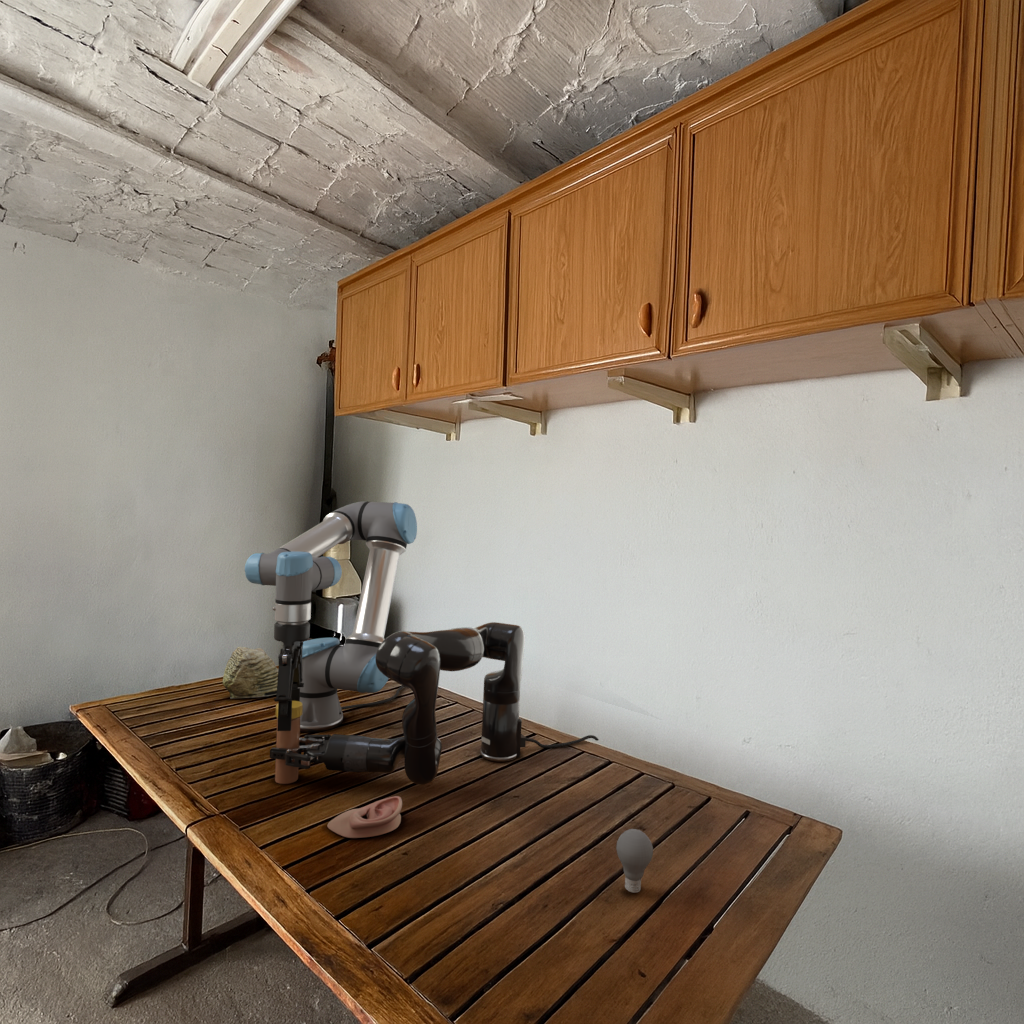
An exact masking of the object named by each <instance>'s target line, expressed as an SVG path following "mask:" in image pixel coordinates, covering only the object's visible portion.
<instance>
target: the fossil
mask: <svg viewBox="0 0 1024 1024" xmlns="http://www.w3.org/2000/svg"><path fill="white" fill-rule="evenodd" d="M278 668H279V667H277V665H276V663H275V662H274V660H273V659H272V658H271V657H270V656H269V655H268V654H267V653H266V652H265V650H264V649H263V648H260V647H258V648H251V647H247V646H246V647H245V646H238V647H237V648H236V649H235V650H233V651H232V653H231V656H230V657H229V659H228V660H227V663H226V666H225V668H224V671H223V675H222V676H223V677H222V685H223V687H224V688H225V690H226V691H228V693H229V698H230V699H250V698H264V697H271V696H275V695H277V682H278Z"/></svg>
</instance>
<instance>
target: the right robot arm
mask: <svg viewBox="0 0 1024 1024" xmlns="http://www.w3.org/2000/svg"><path fill="white" fill-rule="evenodd" d="M384 639H385V640H384V641H383V642H382V643H381V644H380V646H379V647H378V650H377V652H376V657H375V661H376V665H377V668H378V669H379V671H380V672H381V673H382V674H384V675H385V676H386V677H388V678H389V679H390V680H391V681H394V682H395V683H397V684H399V685H400V686H402V685H403V686H405V687H404V688H406V689H410V690H411V691H412V694H413V696H414V697H413V699H411V701H410V702H409V703H408V704H407V705H406V707H405V708H404V711H403V713H402V717H401V727H402V733H403V736H399V737H393V738H377V737H371V736H370V737H369V736H366V735H365V736H364V735H354V734H337V733H334V734H330V733H329V734H305V735H304V736H303V737H300V744H299V747H298V748H293V749H287V748H276V747H271V748H270V749H269V759H271V760H276V759H283V760H286V762H285V765H287V766H292V767H298V768H299V769H303V770H310V769H311V764H320V763H323V764H324V766H325V767H324V768H325V769H326V770H328V771H333V772H335V771H336V772H347V773H348V772H349V773H381V774H390V773H393V772H394V771H395V769H396V768H397V766H398V764H399V763H400V761H402V759H404V760H403V761H404V762H403V763H404V764H403V765H404V772H405V775H406V777H407V778H408V780H409V781H410V782H412V783H413V784H416V785H418V786H425V785H428V784H430V783H432V782H433V781H434V780H435V778H436V777H437V775H438V771H439V768H440V767H439V766H440V761H441V755H442V751H443V743H442V741H441V739H440V738H439V737H438V727H437V725H438V724H437V715H436V707H437V699H438V691H439V685H440V684H439V683H440V674H441V671H443V672H461V671H464V670H467V669H471V668H474V667H475V666H476V665H478V664H479V663H480V661H481V660H482V658H484V659H488V660H489V659H490V660H495V661H501V662H504V664H503V668H502V669H499V670H494V671H491V672H488V673H486V674H485V675H484V678H483V694H482V695H483V696H482V717H481V718H482V719H481V738H480V739H481V740H480V742H481V743H480V756H481V758H483V759H484V760H486V761H491V762H496V763H505V762H506V763H507V762H511V761H514V760H515V759H518V758H521V751H522V750H521V749H522V748H526V742H531V743H533V744H536V745H537V746H538V747H540V748H542V749H555V748H561V747H567V746H572V745H575V744H579V743H581V742H583V741H586V740H588V739H593V740H595V741H599V740H600V739H599V738H598V737H597V736H595V735H593V734H588V735H585V736H583V737H581V738H578V739H576V740H575V739H574V740H571V741H567V742H561V743H555V744H543V743H541V742H540V741H538V740H536V739H534V738H532V737H531V738H530V737H526V736H525V735H524V734H523V733H522V726H523V725H522V724H523V723H522V722H523V720H522V719H521V717H520V704H521V703H520V702H521V701H520V699H521V683H522V682H521V681H522V677H523V668H524V656H525V647H526V636H525V631H524V629H523V627H522V626H520V625H518V624H514V623H513V624H512V623H505V622H494V621H492V622H485V623H484V624H481V625H478V626H475V627H472V626H471V627H470V626H469V627H467V626H466V627H455V628H448V629H441V630H432V631H409V630H399V631H396V632H394V633H391V634H390V635H388V636H387V637H385V638H384ZM295 752H297V753H295ZM302 752H303V753H302Z"/></svg>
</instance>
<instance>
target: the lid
mask: <svg viewBox="0 0 1024 1024" xmlns="http://www.w3.org/2000/svg"><path fill="white" fill-rule="evenodd" d="M302 710H303V705H302V703H301V702H299V701H292V719H294V718H298V717H300V716H301V715H302ZM275 718H276V719H277V718H278V703H277V704H275Z"/></svg>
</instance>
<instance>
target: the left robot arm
mask: <svg viewBox="0 0 1024 1024" xmlns="http://www.w3.org/2000/svg"><path fill="white" fill-rule="evenodd" d="M417 535H418V521H417V516H416V513H415V511H414V509H413V508H412V507H411V506H410V505H409V504H407V503H401V502H396V501H394V502H387V501H386V502H383V501H366V500H365V501H364V500H362V501H357V502H352V503H348V504H346V505H344V506H341V507H339V508H337V509H335V510H333V511H331V512H329V513H328V514H326V515H325V517H323V520H322V521H321V522H319V523H318V524H316V525H314V526H313V527H311V528H310V529H308V530H306V531H305V532H303V533H301V534H300V535H298V536H297V537H295V538H293V539H291V540H289V541H288V542H286V543H284V544H283V545H281V546H279V547H278V548H276V549H273V550H272V551H271V552H268V553H265V552H261V553H260V552H259V553H253V554H251V555H250V556H249V557H248V558H247V559H246V561H245V565H244V572H245V573H244V574H245V578H246V580H247V581H248V582H249V583H251V584H255V585H261V586H273V587H275V599H274V600H275V601H274V602H275V603H274V606H272V611H274V620H275V621H276V622H275V623H274V625H273V639H274V640H275V641H276V642H281V643H283V645H282V648H280V650H279V653H278V656H277V658H278V667H277V668H278V682H277V694H276V698H274V702H275V703H276V702H277V704H278V728H277V727H276V732H277V731H291V720H292V701H299V702H301V703H302V705H303V710H302V715H301V716H300V733H316V732H325V731H329V730H332V729H335V728H337V727H339V726H340V725H342V723H343V722H344V714H343V710H349V709H355V708H364V707H372V706H377V705H382V704H386V703H388V702H391V701H393V700H394V699H396V698H397V697H398V696H399V694H400V691H401V690H402V689H404V688H406V687H405V686H403V685H400V686H399V688H397V690H396V692H395V694H394V695H392V696H391V697H389V698H386V699H383V700H380V701H373V702H366V703H358V704H350V705H343V706H341V702H340V699H339V695H338V690H342V691H350V692H358V693H362V694H364V693H369V694H374V693H378V692H380V691H381V690H382V689H383V688H384V687H385V685H386V684H387V683H388V681H389V679H390V678H388V677H386V676H385V675H384V674H382V673H381V672H380V671H379V669H378V668H377V665H376V661H375V657H376V652H377V650H378V647H379V646H380V644H381V643H382V642H383V641H384V640H385V639H386V638H385V634H386V629H387V623H388V618H389V613H390V608H391V602H392V597H393V591H394V587H395V582H396V577H397V571H398V565H399V560H400V556H401V555H403V554H404V553H405V552H406V551H407V546H408V545H410V544H414V542H415V540H416V539H417ZM349 541H365V545H366V547H367V548H368V550H369V553H368V557H367V563H366V567H365V572H364V577H363V581H362V586H361V591H360V595H359V601H358V607H357V611H356V616H355V621H354V625H353V630H352V633H351V634H350V635H348V636H347V637H346V638H345V642H344V645H341V641H340V639H339V638H338V637H318V638H313V639H310V634H311V622H310V620H311V618H312V617H311V616H312V614H311V613H312V592H314V591H319V590H327V589H329V588H331V587H333V586H336V585H337V584H338V583H339V582H340V580H341V579H342V575H343V569H342V566H341V564H340V562H339V561H338V559H336V558H335V557H332V556H323V555H324V554H325V553H327V552H328V551H330V550H331V549H332V548H334V547H336V546H337V545H344V544H346V543H348V542H349Z"/></svg>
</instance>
